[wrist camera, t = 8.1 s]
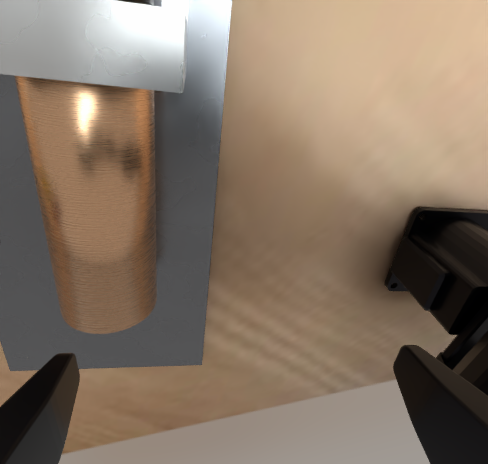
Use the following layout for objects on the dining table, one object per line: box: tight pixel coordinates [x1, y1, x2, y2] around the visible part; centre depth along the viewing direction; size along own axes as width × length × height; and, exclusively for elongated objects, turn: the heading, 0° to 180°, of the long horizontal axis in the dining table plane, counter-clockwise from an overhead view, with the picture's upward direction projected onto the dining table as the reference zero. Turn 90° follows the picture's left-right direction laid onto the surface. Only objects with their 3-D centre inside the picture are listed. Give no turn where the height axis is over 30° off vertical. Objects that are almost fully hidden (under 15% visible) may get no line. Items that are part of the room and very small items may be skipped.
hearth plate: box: [0, 0, 232, 371], centre depth 18 cm, size 13×27×1 cm, turn 174°
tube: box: [14, 0, 157, 334], centre depth 14 cm, size 17×5×5 cm, turn 174°
